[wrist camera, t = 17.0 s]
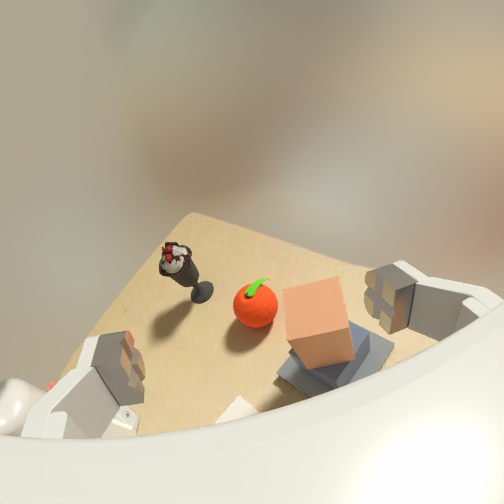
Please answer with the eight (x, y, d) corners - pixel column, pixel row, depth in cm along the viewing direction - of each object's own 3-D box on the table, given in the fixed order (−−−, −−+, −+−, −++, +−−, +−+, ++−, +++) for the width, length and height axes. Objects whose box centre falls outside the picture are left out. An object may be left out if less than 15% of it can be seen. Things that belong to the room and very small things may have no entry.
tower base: (279, 376, 41) (260, 358, 35) (326, 313, 45) (316, 285, 39) (346, 419, 33) (340, 411, 28) (394, 347, 37) (397, 323, 31)
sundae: (208, 310, 54) (162, 260, 43) (182, 303, 57) (135, 256, 47) (223, 280, 57) (183, 227, 47) (196, 276, 60) (155, 226, 50)
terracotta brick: (307, 369, 32) (287, 340, 26) (303, 327, 36) (283, 289, 30) (355, 359, 31) (348, 327, 24) (347, 317, 34) (338, 276, 28)
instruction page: (206, 433, 38) (205, 432, 38) (239, 395, 41) (238, 395, 41) (252, 475, 32) (251, 475, 32) (289, 435, 35) (289, 434, 34)
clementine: (262, 287, 53) (247, 263, 48) (294, 301, 48) (282, 277, 43) (235, 323, 50) (216, 303, 45) (267, 341, 45) (250, 321, 40)
